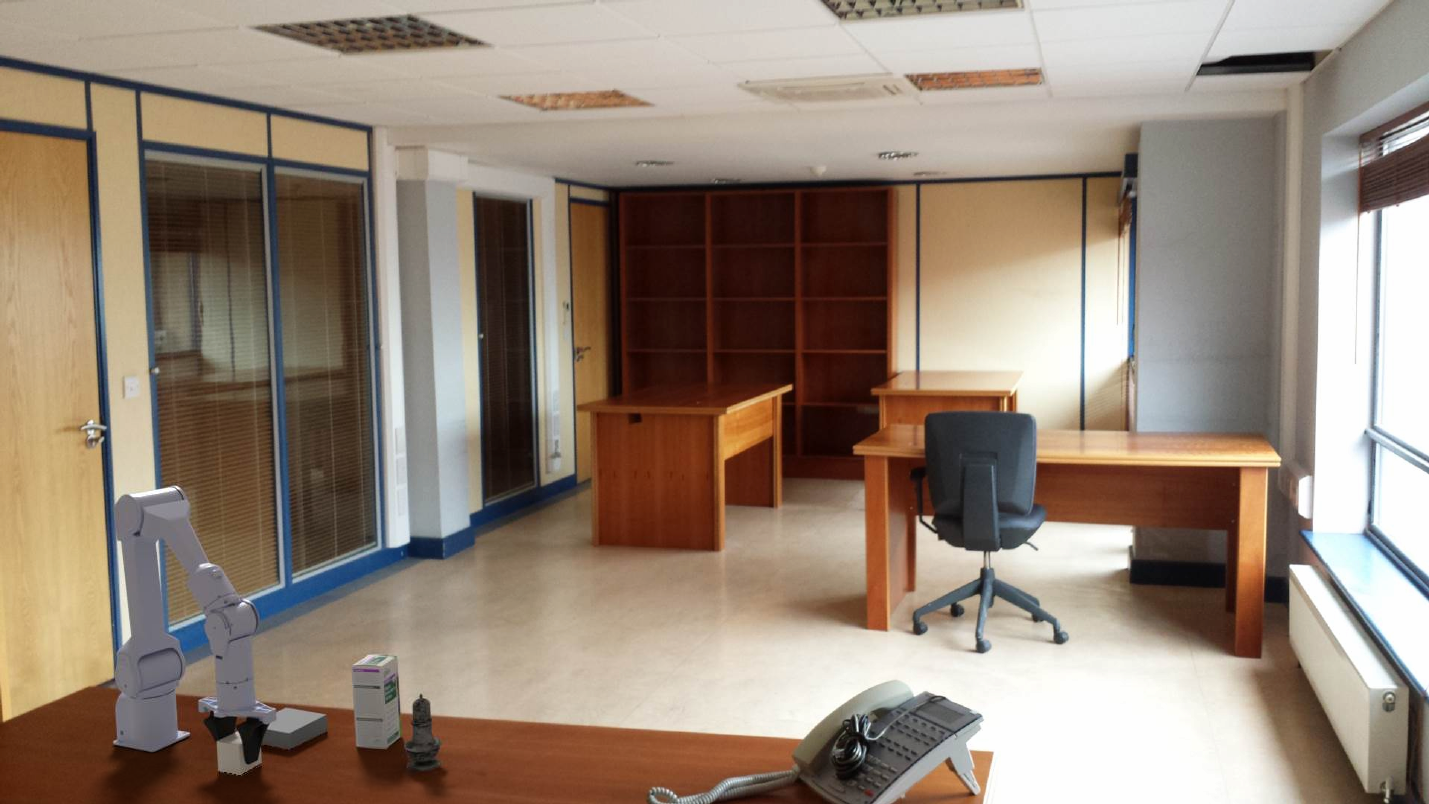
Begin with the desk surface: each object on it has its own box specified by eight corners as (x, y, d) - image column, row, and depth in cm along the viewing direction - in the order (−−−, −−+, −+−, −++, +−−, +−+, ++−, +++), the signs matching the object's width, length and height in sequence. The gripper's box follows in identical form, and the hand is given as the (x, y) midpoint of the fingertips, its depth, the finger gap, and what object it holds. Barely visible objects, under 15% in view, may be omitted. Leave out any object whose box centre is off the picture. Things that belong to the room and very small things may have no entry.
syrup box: (386, 749, 198) (383, 665, 196) (354, 747, 199) (350, 663, 197) (402, 736, 203) (399, 654, 202) (370, 734, 205) (367, 653, 203)
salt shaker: (449, 760, 193) (446, 689, 192) (429, 774, 188) (426, 701, 186) (418, 755, 195) (415, 685, 194) (397, 770, 190) (394, 697, 188)
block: (248, 742, 201) (247, 725, 201) (286, 724, 210) (286, 707, 209) (290, 750, 198) (289, 733, 198) (327, 731, 206) (326, 714, 206)
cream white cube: (218, 771, 190) (216, 741, 189) (240, 760, 194) (238, 731, 194) (240, 775, 188) (238, 745, 188) (261, 764, 192) (260, 735, 192)
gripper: (181, 680, 189) (186, 762, 190) (251, 692, 183) (255, 776, 184) (215, 666, 195) (220, 745, 197) (284, 677, 189) (288, 759, 191)
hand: (239, 759), depth 191 cm, fingers closed on cream white cube, 5 cm apart
